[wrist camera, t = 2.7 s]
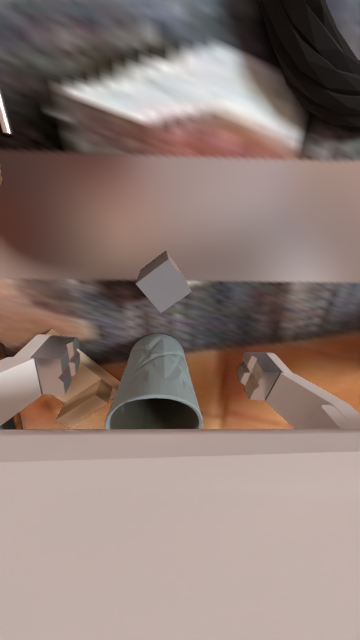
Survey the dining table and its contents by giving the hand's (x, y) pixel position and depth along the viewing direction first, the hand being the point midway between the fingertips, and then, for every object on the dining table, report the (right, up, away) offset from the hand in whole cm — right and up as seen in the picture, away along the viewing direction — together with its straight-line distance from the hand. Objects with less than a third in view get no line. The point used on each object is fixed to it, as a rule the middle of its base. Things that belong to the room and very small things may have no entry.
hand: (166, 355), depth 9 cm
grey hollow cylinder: (-3, -4, +21) cm, 22 cm away
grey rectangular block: (-1, +8, +15) cm, 17 cm away
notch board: (-16, -7, +21) cm, 27 cm away
